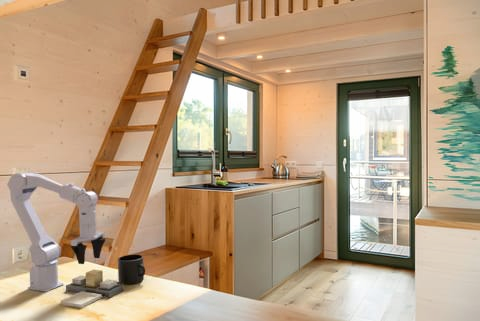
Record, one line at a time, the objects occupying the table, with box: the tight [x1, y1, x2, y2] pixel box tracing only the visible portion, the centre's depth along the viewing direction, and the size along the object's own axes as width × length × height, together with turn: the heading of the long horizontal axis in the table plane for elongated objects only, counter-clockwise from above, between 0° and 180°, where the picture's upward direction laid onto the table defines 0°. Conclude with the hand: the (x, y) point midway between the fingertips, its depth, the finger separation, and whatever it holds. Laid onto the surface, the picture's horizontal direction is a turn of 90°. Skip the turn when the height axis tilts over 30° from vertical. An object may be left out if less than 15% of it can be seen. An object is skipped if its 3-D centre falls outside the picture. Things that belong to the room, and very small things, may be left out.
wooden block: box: [85, 269, 104, 289], centre depth 132 cm, size 4×4×7 cm
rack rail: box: [65, 275, 124, 299], centre depth 132 cm, size 20×7×4 cm, turn 68°
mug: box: [117, 253, 146, 285], centre depth 141 cm, size 9×12×9 cm
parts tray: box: [60, 291, 103, 309], centre depth 123 cm, size 9×9×1 cm
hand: (89, 260), depth 135 cm, fingers open, 7 cm apart
